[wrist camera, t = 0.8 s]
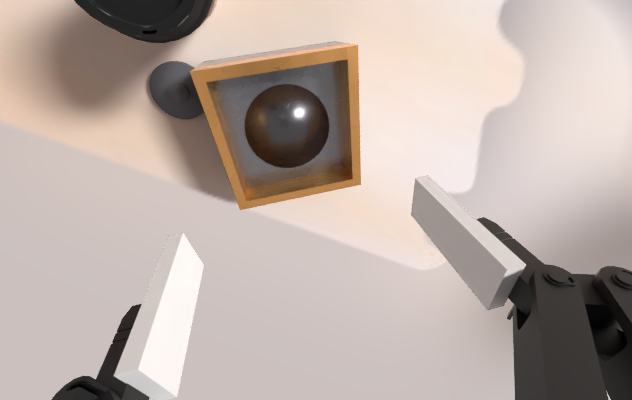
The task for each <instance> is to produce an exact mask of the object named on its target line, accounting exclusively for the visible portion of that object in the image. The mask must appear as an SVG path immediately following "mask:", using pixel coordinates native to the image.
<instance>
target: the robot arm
mask: <svg viewBox="0 0 632 400" xmlns="http://www.w3.org/2000/svg"><path fill="white" fill-rule="evenodd" d="M411 215H412V216H413V218H414V219H415V220H416V221H417V223H418V224H419V225H420V227H421V228H422V229H423V230H424V232H425V233H426V234H427V235H428V237H429V238H430V239H431V240H432V242H433V243H434V244H435V245H436V247H437V248H438V249H439V250H440V252H441V253H442V254H443V255H444V257H445V258H446V259H447V260H448V262H449V263H450V264H451V265H452V267H453V268H454V269H455V270H456V272H457V273H458V274H459V275H460V276H461V278H462V279H463V280H464V282H465V283H466V284H467V285H468V287H469V288H470V289H471V290H472V292H473V293H474V294H475V296H477V298H478V299H479V300H480V302H481V303H482V304H483V306H484V307H485V308H486V309H487V310H490V309H494V308H497V307H501V306H504V304H505V302H506V301H507V299H508V298H509V299H510V300H511V301H512V302H513V303H514V305H513V307H512V309H511V310H510V312H509V314H508V317H507V319H509V320H510V319H511V317H512V316H513V343H514V376H515V400H608V396H607V392H608V395H609V396H610V399H611V400H632V272H631V271H629V270H626V269H624V268H619V267H615V266H607V267H604V268H601V269H600V270H599V272H598V273H597V274H596V275H588V274H571V273H569V272H568V271H566V270H564V269H562V268H560V267H557V266H553V265H545V264H544V263H542V262H541V261H540V260H538V259H537V258H536V257H535V256H534V255H532V254H531V253H530V252H529V251H528V250H527V249H526V248H524V247H523V246H522V245H521V244H520V243H518V242H517V241H516V240H515V239H513V238H512V237H511V236H510V235H509V234H508V233H505V231H504V230H503V229H502V228H501V227H500V226H498V225H497V224H496V223H494V222H492V221H490V220H488V219H486V218H484V217H483V218H479V219H475V218H474V217H473V216H472V215H471V214H470V213H469V212H468V211H467V210H465V209H464V208H463V207H462V206H461V205H460V204H459V203H458V202H457V201H455V200H454V199H453V198H452V197H451V196H450V195H449V194H448V193H447V192H446V191H444V190H443V189H442V188H441V187H440V186H439V185H438V184H437V183H436V182H435V181H433V180H432V179H431V178H430V177H429V176H428V175H427V176H423V177H419V178H415V185H414V194H413V203H412V212H411ZM203 267H204V265H203V264H202V262H201V260H200V259H199V258H198V256H197V254H196V252H195V251H194V249H193V248H192V246H191V244H190V243H189V241H188V240H187V238H186V236H185V235H184V233H179V234H174V235H170V236H168V238H167V241H166V243H165V246H164V248H163V251H162V254H161V256H160V259H159V261H158V264H157V266H156V269H155V271H154V274H153V277H152V279H151V282H150V284H149V287H148V290H147V292H146V294H145V297H144V300H143V302H142V304H139V305H135V306H132V307H131V308H130V310H129V311H128V312H127V313H126V315H125V316H124V317H123V319H122V321H121V323H120V325H119V328H118V330H117V333H116V335H115V337H114V339H113V344H111V346H110V348H109V351H108V353H107V355H106V358H105V360H104V362H103V365H102V367H101V369H100V371H99V374H98V376H97V378H96V380H95V379H93V378H92V377H90V376H82V377H79V378H76V379H74V380H72V381H71V382H69V383H68V384H66V385H65V386H64V387H63V388H62V389H61V390H60V391H59V392H57V393H56V395H55V396H54V397H53V399H52V400H149V398H150V399H152V400H169V399H172V398H176V397H177V395H178V390H179V385H180V380H181V375H182V370H183V365H184V360H185V355H186V350H187V345H188V341H189V336H190V331H191V326H192V321H193V316H194V311H195V306H196V301H197V296H198V291H199V286H200V281H201V276H202V271H203ZM606 391H607V392H606Z"/></svg>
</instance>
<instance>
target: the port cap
mask: <svg viewBox="0 0 632 400" xmlns="http://www.w3.org/2000/svg"><path fill="white" fill-rule="evenodd" d="M193 69H194V67H192V66H190V65H188V64H186V63H183V62H179V61H170V62H166V63H164V64H161V65H160V66H158V67H157V68H156V69H155V70H154V71H153V73H152V75H151V78H150V90H151V94H152V96H153V98H154V100H155V102H156V103H157V104H158V106H159V107H160V108H161V109H162V110H164V111H165V112H166V113H168V114H169V115H171V116H174V117H176V118H180V119H191V118H195V117H197V116H199V115H200V114H202V113H203V112H204V109H203V107H202V104H201V101H200V98H199V96H198V93H197V90H196V87H195V85H194V82H193V79H192V76H191V74H190V71H191V70H193Z"/></svg>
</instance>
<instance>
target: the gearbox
mask: <svg viewBox="0 0 632 400" xmlns="http://www.w3.org/2000/svg"><path fill="white" fill-rule="evenodd" d="M190 74H191V76H192V79H193V82H194V85H195V87H196V90H197V93H198V96H199V98H200V101H201V104H202V107H203V109H204V112H205V115H206V118H207V120H208V123H209V126H210V128H211V131H212V134H213V137H214V139H215V142H216V145H217V148H218V150H219V153H220V156H221V159H222V161H223V164H224V167H225V170H226V172H227V175H228V178H229V181H230V183H231V186H232V189H233V192H234V194H235V197H236V200H237V202H238V205H239V208H240V210H242V209H247V208H252V207H257V206H261V205H266V204H271V203H276V202H280V201H285V200H290V199H295V198H299V197H304V196H309V195H313V194H318V193H323V192H328V191H332V190H337V189H342V188H347V187H351V186H356V185H361V172H360V124H359V76H358V45H354V44H348V43H342V42H336V41H335V42H328V43H322V44H315V45H309V46H303V47H296V48H290V49H283V50H277V51H270V52H264V53H257V54H251V55H244V56H238V57H231V58H225V59H219V60H212V61H206V62H203V63H202V64H200V65H199V66H197V67H196V68H194V69H193V70H191V71H190Z"/></svg>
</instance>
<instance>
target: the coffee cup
mask: <svg viewBox="0 0 632 400" xmlns="http://www.w3.org/2000/svg"><path fill="white" fill-rule="evenodd" d="M74 1H75V2H76V3H77V4H78V5H79V6H80V7H81V8H83V9H84V10H85V11H86V12H87V13H88V14H89V15H90V16H92V17H93V18H95V19H97V20H98V21H100V22H101V23H103V24H104V25H106V26H108V27H110V28H112V29H115V30H117V31H119V32H120V33H123V34H125V35H127V36H130V37H132V38H134V39H137V40H142V41H146V42H150V43H166V42H171V41H176V40H179V39H181V38H183V37H185V36H187V35H189V34H191V33H192V32H193V31H194V30H196V29H197V28H198V27H199V26H200V25H201V23H202V22H203V21H204V20H205V19H206V18H208V17H209V16H210V15H211V13H212V12H213V11H214V8H215V6H216V2H217V0H74Z"/></svg>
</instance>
